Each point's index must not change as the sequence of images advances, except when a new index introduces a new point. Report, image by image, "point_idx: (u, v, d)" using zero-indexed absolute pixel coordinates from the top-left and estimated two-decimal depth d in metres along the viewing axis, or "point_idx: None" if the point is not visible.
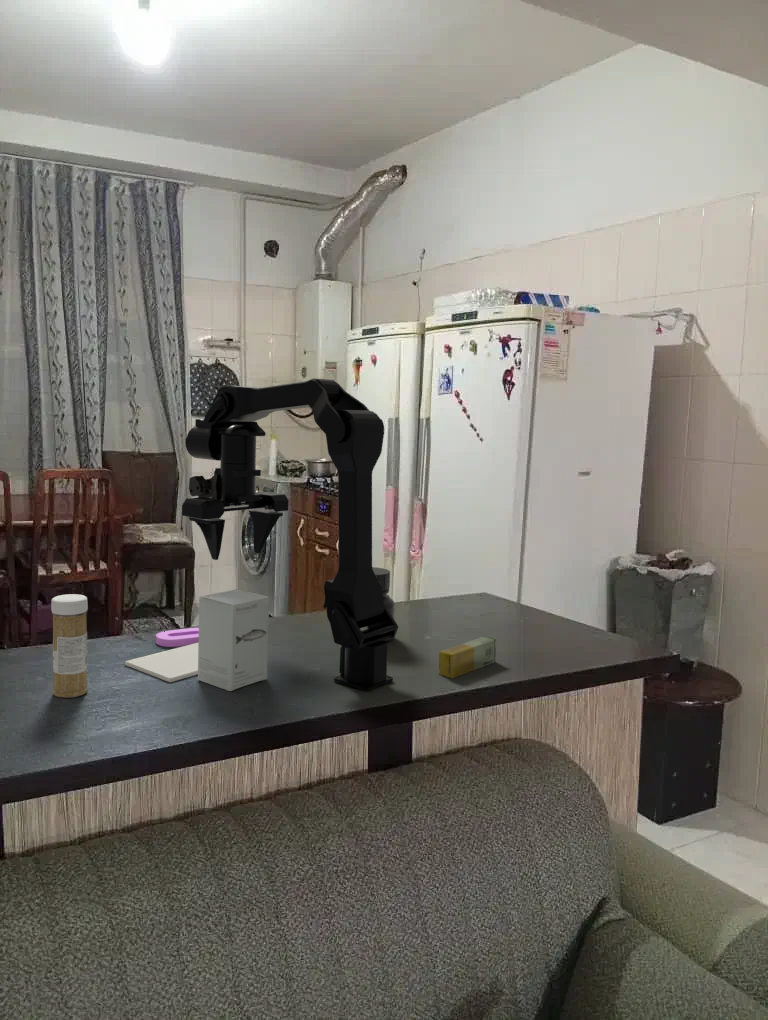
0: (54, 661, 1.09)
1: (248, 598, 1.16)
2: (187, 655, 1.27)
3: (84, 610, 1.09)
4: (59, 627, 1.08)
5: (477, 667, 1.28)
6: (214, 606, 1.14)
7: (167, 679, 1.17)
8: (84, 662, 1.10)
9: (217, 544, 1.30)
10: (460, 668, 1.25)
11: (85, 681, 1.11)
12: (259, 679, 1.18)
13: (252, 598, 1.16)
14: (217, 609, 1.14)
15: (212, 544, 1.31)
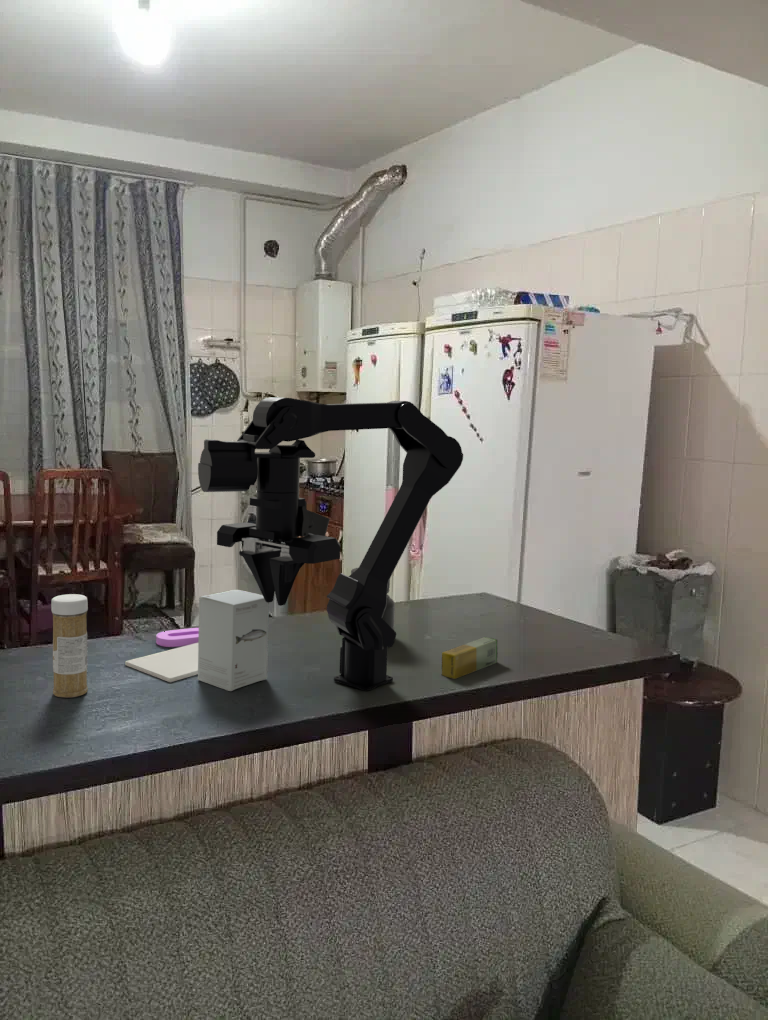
0: (54, 661, 1.09)
1: (248, 598, 1.16)
2: (187, 655, 1.27)
3: (84, 610, 1.09)
4: (59, 627, 1.08)
5: (479, 668, 1.28)
6: (214, 606, 1.14)
7: (167, 679, 1.17)
8: (84, 662, 1.10)
9: (257, 582, 1.11)
10: (463, 669, 1.24)
11: (85, 681, 1.11)
12: (259, 679, 1.18)
13: (252, 598, 1.16)
14: (217, 609, 1.14)
15: None
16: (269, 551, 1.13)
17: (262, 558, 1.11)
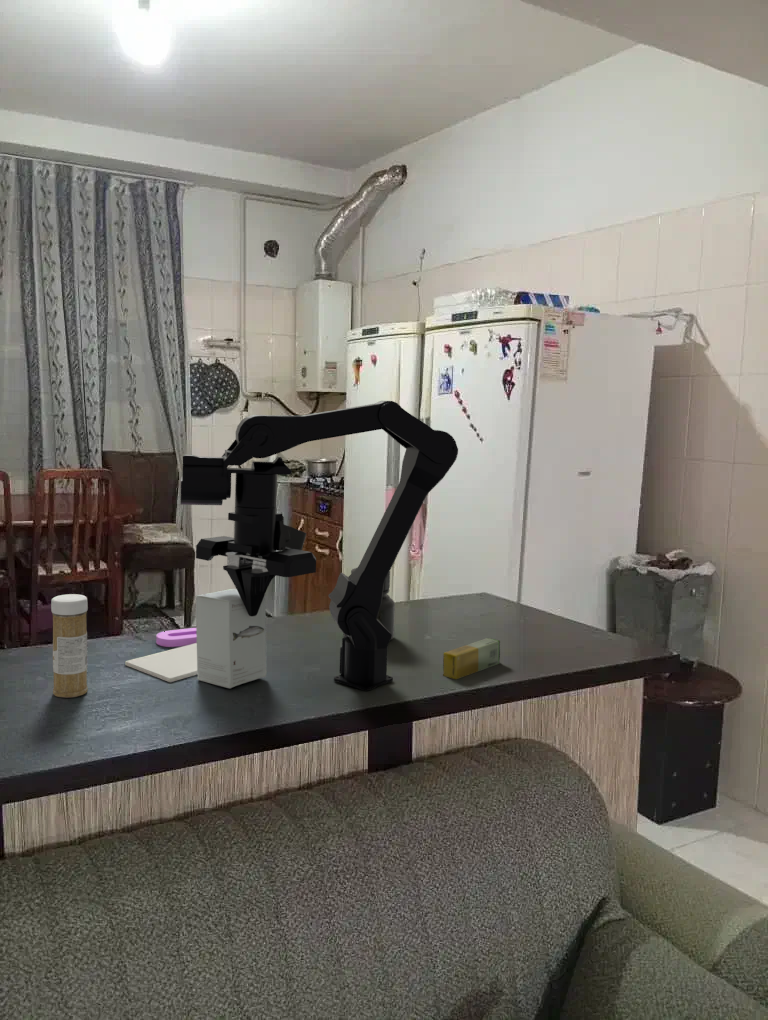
0: (54, 661, 1.09)
1: None
2: (187, 655, 1.27)
3: (84, 610, 1.09)
4: (59, 627, 1.08)
5: (481, 668, 1.28)
6: (210, 604, 1.15)
7: (167, 679, 1.17)
8: (84, 662, 1.10)
9: (241, 597, 1.14)
10: (464, 669, 1.24)
11: (85, 681, 1.11)
12: (259, 676, 1.18)
13: None
14: (213, 606, 1.14)
15: None
16: None
17: None
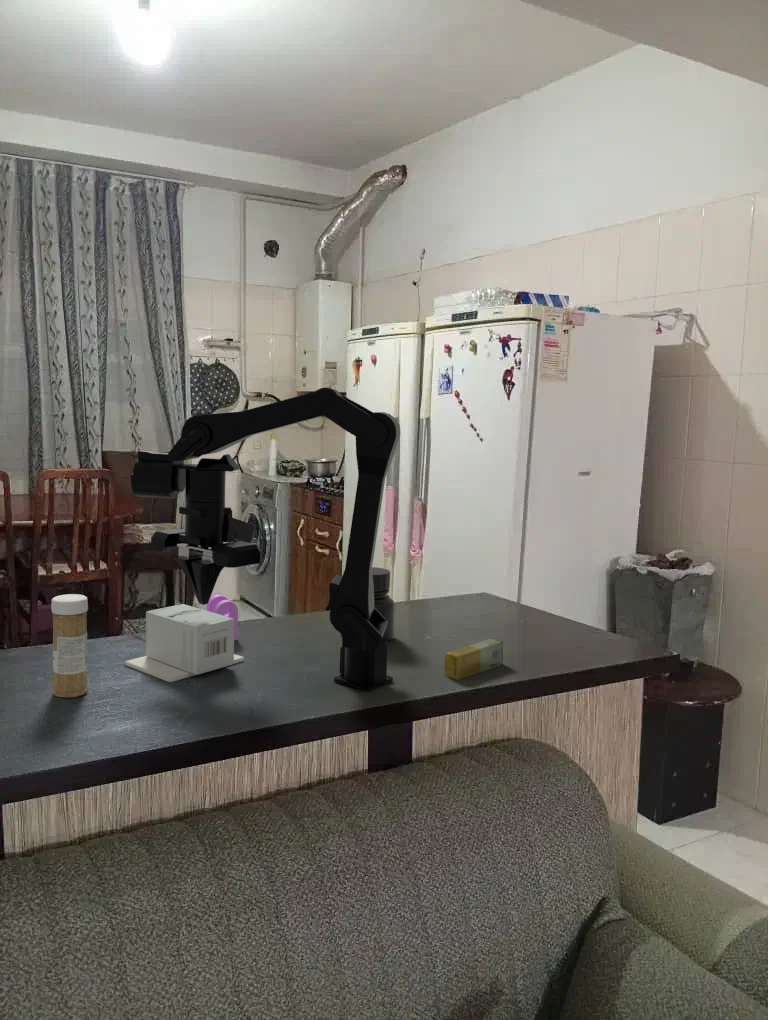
0: (54, 661, 1.09)
1: None
2: None
3: (84, 610, 1.09)
4: (59, 627, 1.08)
5: (484, 669, 1.27)
6: (148, 636, 1.25)
7: (167, 679, 1.17)
8: (84, 662, 1.10)
9: (191, 586, 1.20)
10: (466, 670, 1.24)
11: (85, 681, 1.11)
12: (224, 620, 1.22)
13: None
14: (149, 632, 1.24)
15: None
16: None
17: None
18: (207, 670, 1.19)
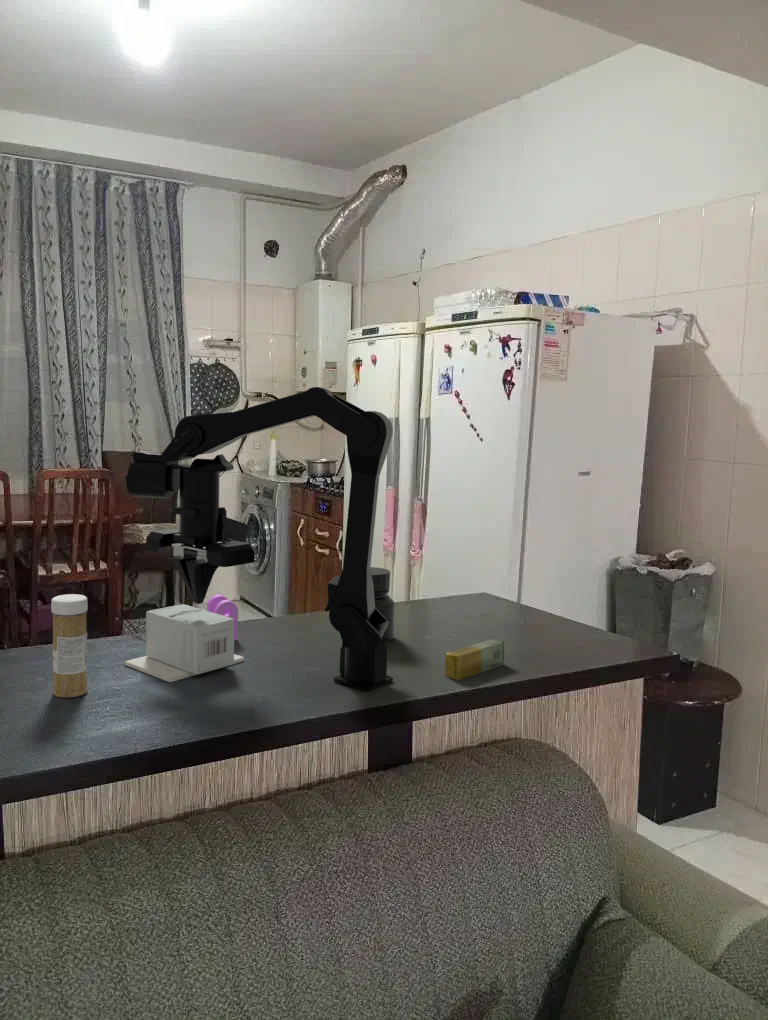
0: (54, 661, 1.09)
1: None
2: None
3: (84, 610, 1.09)
4: (59, 627, 1.08)
5: (484, 669, 1.27)
6: (148, 636, 1.25)
7: (167, 679, 1.17)
8: (84, 662, 1.10)
9: (186, 585, 1.21)
10: (467, 670, 1.24)
11: (85, 681, 1.11)
12: (225, 620, 1.22)
13: None
14: (149, 632, 1.24)
15: None
16: None
17: None
18: (207, 670, 1.19)
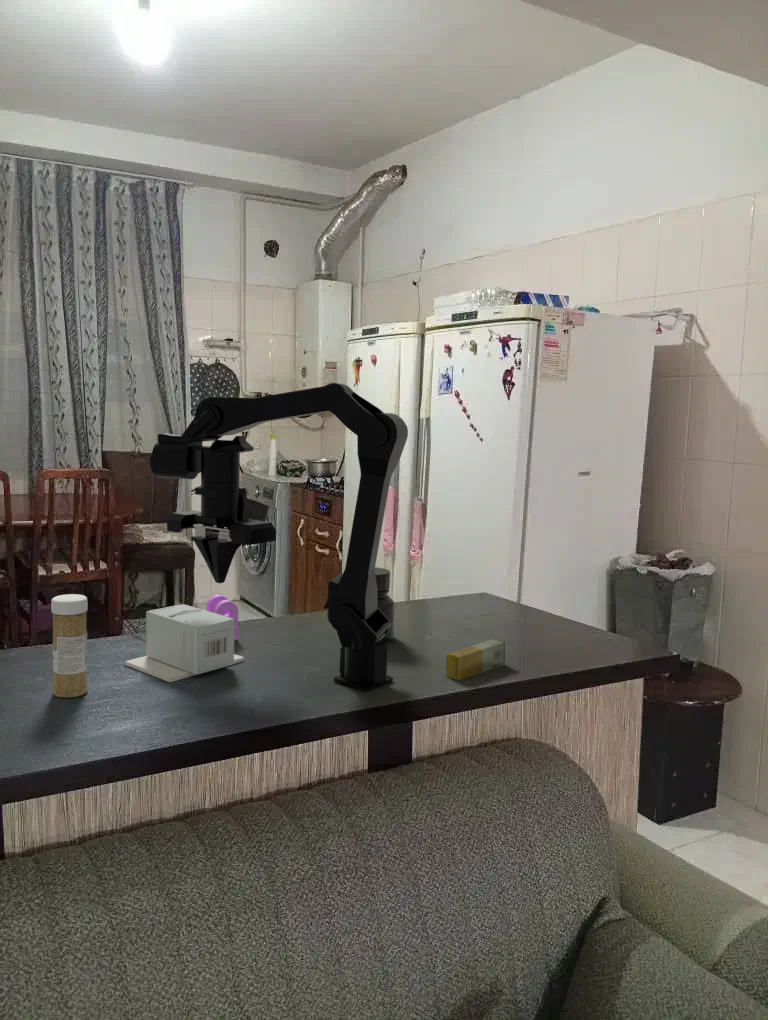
0: (54, 661, 1.09)
1: None
2: None
3: (84, 610, 1.09)
4: (59, 627, 1.08)
5: (485, 670, 1.27)
6: (148, 636, 1.25)
7: (167, 679, 1.17)
8: (84, 662, 1.10)
9: (207, 565, 1.23)
10: (468, 670, 1.24)
11: (85, 681, 1.11)
12: (225, 620, 1.22)
13: None
14: (149, 632, 1.24)
15: None
16: None
17: None
18: (207, 670, 1.19)
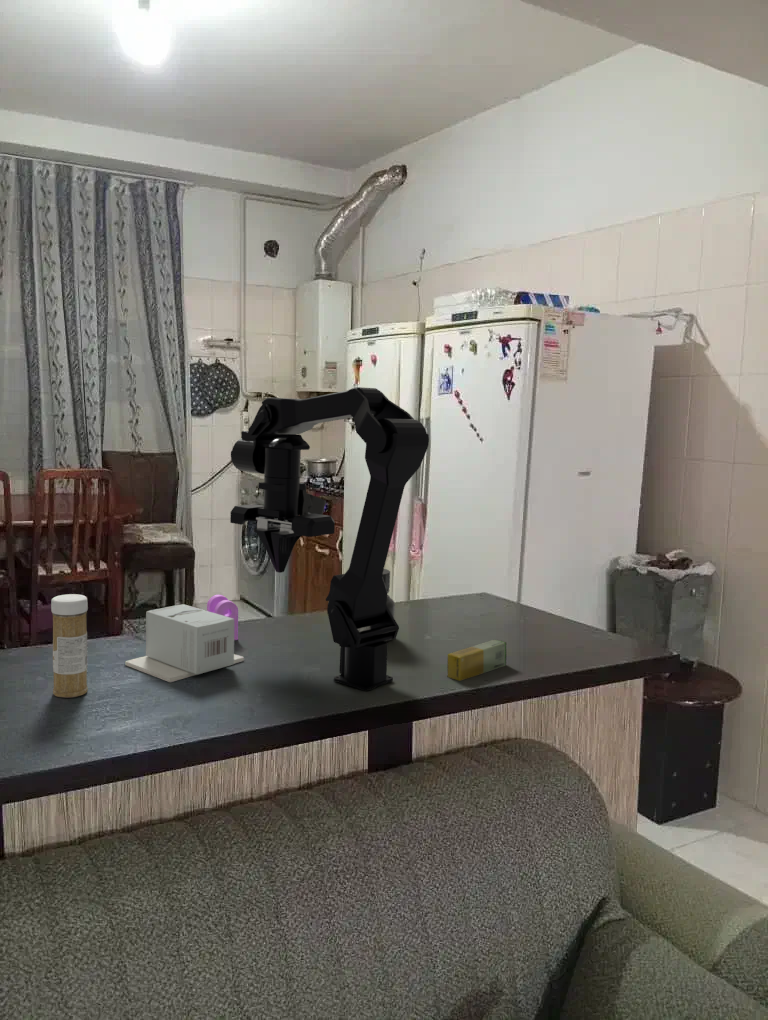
0: (54, 661, 1.09)
1: None
2: None
3: (84, 610, 1.09)
4: (59, 627, 1.08)
5: (487, 670, 1.27)
6: (148, 636, 1.25)
7: (167, 679, 1.17)
8: (84, 662, 1.10)
9: (269, 555, 1.31)
10: (469, 671, 1.24)
11: (85, 681, 1.11)
12: (225, 620, 1.22)
13: None
14: (149, 632, 1.24)
15: None
16: (279, 528, 1.33)
17: None
18: (207, 670, 1.19)
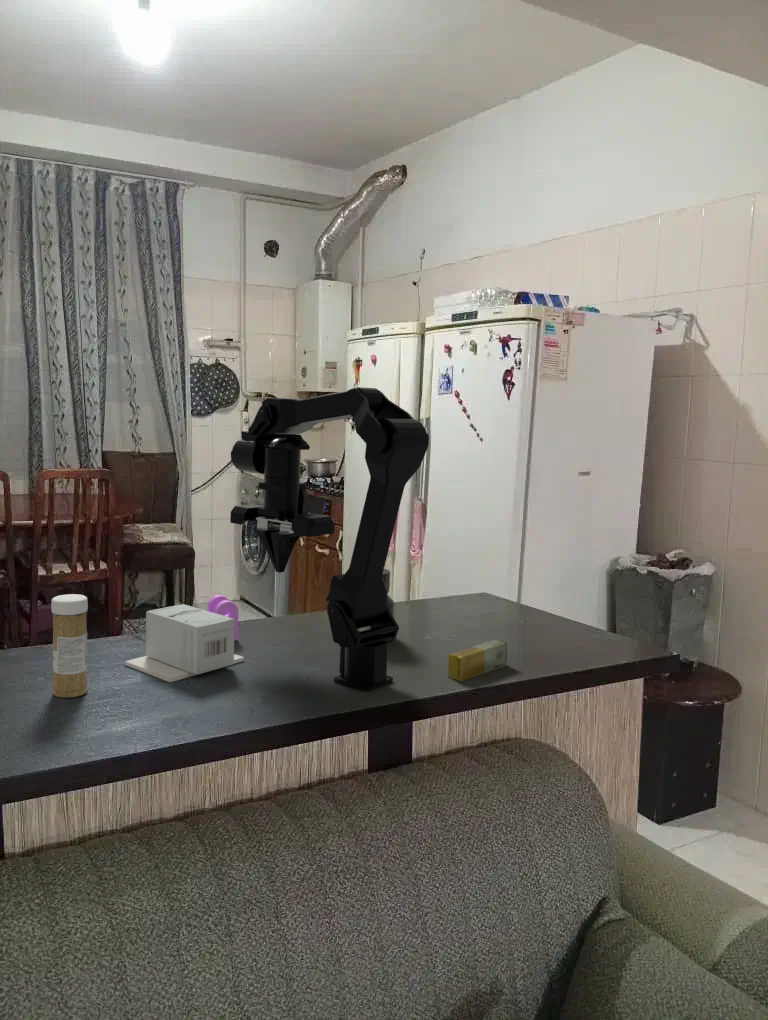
0: (54, 661, 1.09)
1: None
2: None
3: (84, 610, 1.09)
4: (59, 627, 1.08)
5: (487, 670, 1.27)
6: (148, 636, 1.25)
7: (167, 679, 1.17)
8: (84, 662, 1.10)
9: (269, 555, 1.31)
10: (470, 671, 1.23)
11: (85, 681, 1.11)
12: (225, 620, 1.22)
13: None
14: (149, 632, 1.24)
15: None
16: (279, 528, 1.33)
17: None
18: (207, 670, 1.19)
